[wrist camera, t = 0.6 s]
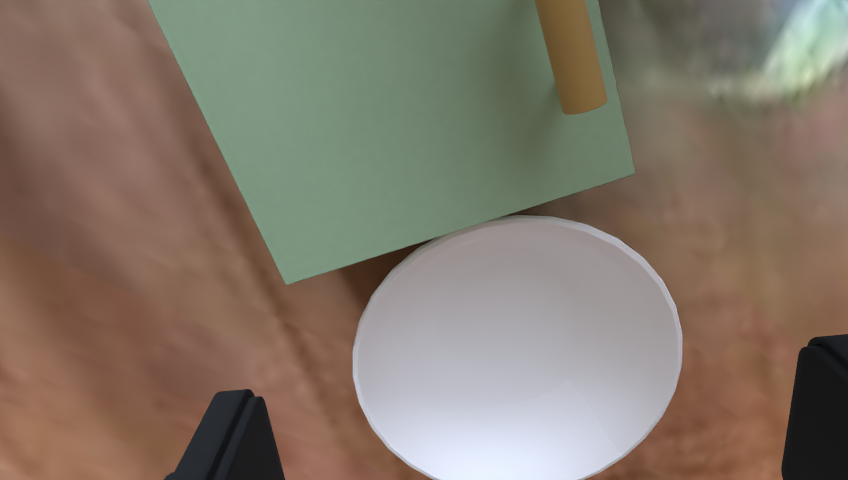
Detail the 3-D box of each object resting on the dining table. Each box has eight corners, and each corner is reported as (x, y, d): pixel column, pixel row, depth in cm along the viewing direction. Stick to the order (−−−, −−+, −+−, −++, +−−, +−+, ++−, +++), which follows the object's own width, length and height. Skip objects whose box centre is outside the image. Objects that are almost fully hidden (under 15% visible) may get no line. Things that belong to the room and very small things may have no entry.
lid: (552, -189, 24) (582, -231, 19) (630, 169, 30) (669, 203, 25) (142, -24, 26) (82, -26, 22) (288, 279, 32) (265, 328, 27)
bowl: (503, 116, 36) (518, 141, 30) (706, 308, 41) (753, 361, 36) (304, 327, 42) (284, 382, 36) (504, 472, 47) (515, 541, 41)
